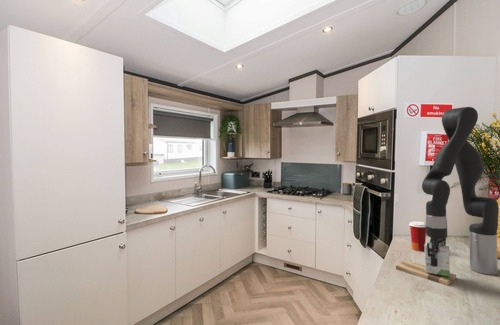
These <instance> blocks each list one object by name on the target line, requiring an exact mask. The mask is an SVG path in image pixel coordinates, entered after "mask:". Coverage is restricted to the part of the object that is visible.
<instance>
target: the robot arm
mask: <svg viewBox="0 0 500 325" xmlns="http://www.w3.org/2000/svg"><path fill="white" fill-rule="evenodd" d="M478 119H479V114H478V111H477V110H476V108H474V107H472V106H465V107H463V106H462V107H457V108H451V109H446V110H445V111H444V112H443V114H442V116H441V123H442V127H443V130H444V132H445V135H446V137H447V139H448V141H447V142H446V143H445V144H444V145H443V146H442V147H441V148H440V150H439V151H438V153H437V154H436V156H435V159H434V161H433V164H432V167H431V169H430V170H429V171H428V173H427V175H425V177H424V179H423V181H422V183H421V189H422V191H423V192H424V193H425V194H427V195H430V196H432V198H431V200H428V201H427V202H426V204H425V224H426V237H429V238H430V240H429V242H426V243H427V251H428V256H429V257H431V266H434V267H437V256H438V253H439V252H440V247H441V246H444V245H445V246H447V238H448V218H447V204H448V201H449V197H450V194H451V186H450V184H449V183H448V182H447V181H445V180H443V179H444V177H448V176H450V175H451V174H452V173H453V169H454V167H455V169H456V172H457V177H458V180H459V185H460V189H461V195H462V196H461V197H462V203H463V209H464V211H465V213H466V214H467V215H468V216H471V217H477V218H481V219H482V221H481V222H478V223H471V224H470V225H469V227H468V231H469V232H468V233H469V236H468V237H469V268H470V269H471V270H472V271H473V272H476V273H479V274H484V275H494V276H495V275H498V274H499V273H498V271H499V270H498V269H499V268H498V262H499V261H498V229H499V212H500V206H499V202H498V201H497V199H496V198H492V197H485V196H478V195H477V194H476V185H477V183H478V182H479V180H480V178H481V177H482V175H483V173H484V169H485V168H484V162H483V159H482V156H481V153H480V152H479V151H478V150H477V149H476V147H474V146H473V144H471V142H469V140H468V138H469V136H470V134H471V133H472V132H473V130H474V128H475V127H476V125H477V122H478ZM435 249H437V250H435ZM432 252H433V254H432ZM435 252H436V253H435Z"/></svg>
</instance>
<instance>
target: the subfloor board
mask: <svg viewBox="0 0 500 325" xmlns="http://www.w3.org/2000/svg"><path fill="white" fill-rule="evenodd" d="M395 270H397V271H401V272H404V273H406V274H407V273H408V274H410V275H414V276H416V277H420V278H423V279H426V280H429V281H432V282H435V283H438V284H442V285H445V286H446V287H447V286H449V285H450V284H451V283H452V282H454V281H455V280H456V279H457V274H454V273H452V272H450V276H449V277H448V276H443V275H438V274H433V273H428V272H425V264H420V263H416V262H413V261H409V260H407V259H405V260H404V261H402V262H400V263H398V264H397V265H396V264H395Z"/></svg>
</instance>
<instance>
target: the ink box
mask: <svg viewBox="0 0 500 325" xmlns="http://www.w3.org/2000/svg"><path fill="white" fill-rule="evenodd" d="M427 243H428V242H425V246H424V247H425V251H424V266H425V272H428V273H433V274H438V275H443V276H448V277H449V276H450V273H451V272H450V246H449V245H446V246H445V245H444V246H441V247H440V252H439V253H438V256H437V267H434V266H431V257H429V256H428V251H427ZM435 250H437V249H435ZM435 253H436V252H435ZM432 254H433V252H432Z"/></svg>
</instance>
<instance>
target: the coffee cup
mask: <svg viewBox="0 0 500 325" xmlns="http://www.w3.org/2000/svg"><path fill="white" fill-rule="evenodd" d="M408 226H409V227H410V239H411V248H412V250H413V251H417V252H425V247H424V246H425V243H426V242H427V241H426V237H427V235H426V222H423V221H418V220H417V221H416V220H415V221H414V220H413V221H410V222H409V224H408Z"/></svg>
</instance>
